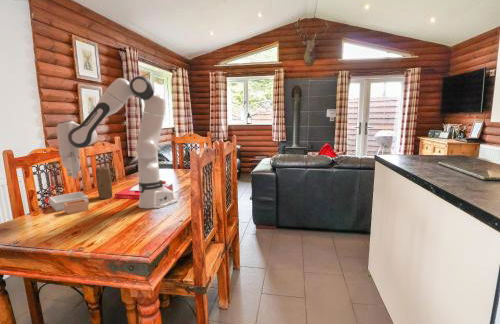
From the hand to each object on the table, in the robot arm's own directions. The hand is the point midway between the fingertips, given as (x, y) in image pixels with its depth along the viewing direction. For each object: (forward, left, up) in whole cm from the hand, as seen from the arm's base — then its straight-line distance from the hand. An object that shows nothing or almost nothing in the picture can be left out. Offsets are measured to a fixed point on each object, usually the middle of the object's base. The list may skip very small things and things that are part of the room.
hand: (72, 177), depth 147 cm
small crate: (0, 0, -19) cm, 19 cm away
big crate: (0, -15, -19) cm, 24 cm away
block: (-20, -16, -19) cm, 32 cm away
